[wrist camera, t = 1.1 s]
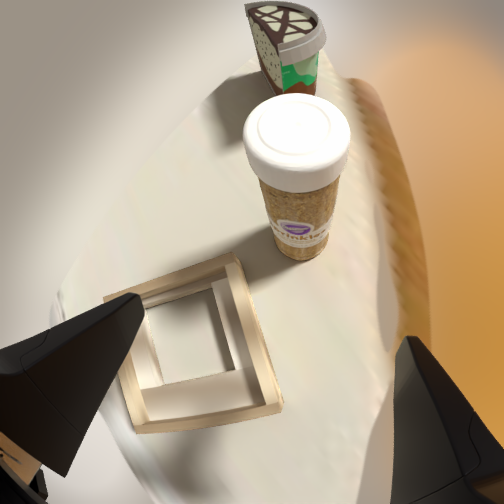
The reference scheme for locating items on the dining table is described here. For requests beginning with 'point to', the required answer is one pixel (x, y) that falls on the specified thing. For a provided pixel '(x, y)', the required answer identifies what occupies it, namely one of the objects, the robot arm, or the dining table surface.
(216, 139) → the dining table surface
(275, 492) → the dining table surface
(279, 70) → the food container
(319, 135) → the sprinkles bottle
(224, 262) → the box
